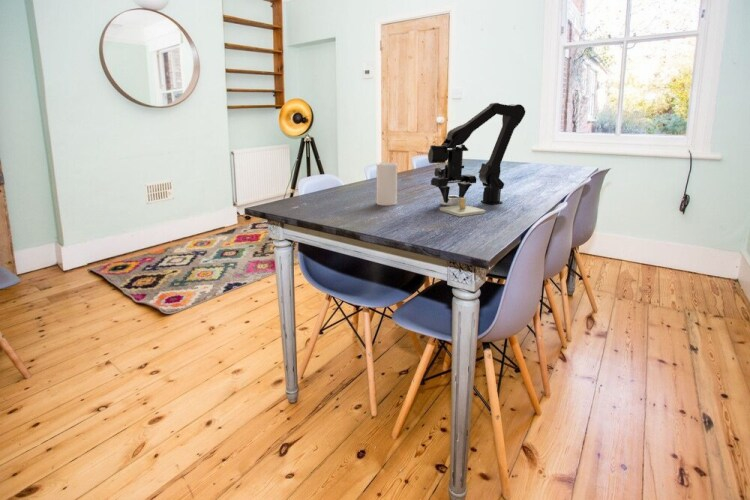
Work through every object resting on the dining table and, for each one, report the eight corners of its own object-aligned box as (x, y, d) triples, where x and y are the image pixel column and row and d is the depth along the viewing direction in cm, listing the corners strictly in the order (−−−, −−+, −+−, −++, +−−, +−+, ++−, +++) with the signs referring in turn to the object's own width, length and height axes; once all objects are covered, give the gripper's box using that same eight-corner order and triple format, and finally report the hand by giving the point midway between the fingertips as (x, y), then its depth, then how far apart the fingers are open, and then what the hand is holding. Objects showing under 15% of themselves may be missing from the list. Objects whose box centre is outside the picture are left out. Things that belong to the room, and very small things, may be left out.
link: (454, 202, 188) (454, 194, 188) (465, 205, 183) (465, 197, 182) (440, 203, 185) (440, 196, 184) (451, 206, 179) (451, 199, 178)
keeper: (464, 206, 179) (465, 194, 178) (485, 212, 169) (486, 199, 168) (439, 210, 174) (440, 197, 172) (459, 216, 164) (460, 202, 162)
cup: (395, 205, 182) (395, 165, 177) (374, 205, 183) (374, 164, 178) (398, 201, 189) (398, 162, 184) (378, 201, 191) (378, 162, 186)
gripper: (460, 159, 190) (458, 196, 195) (423, 162, 181) (422, 200, 186) (478, 162, 181) (475, 200, 185) (440, 165, 172) (438, 205, 177)
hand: (452, 201), depth 184 cm, fingers closed on link, 7 cm apart
